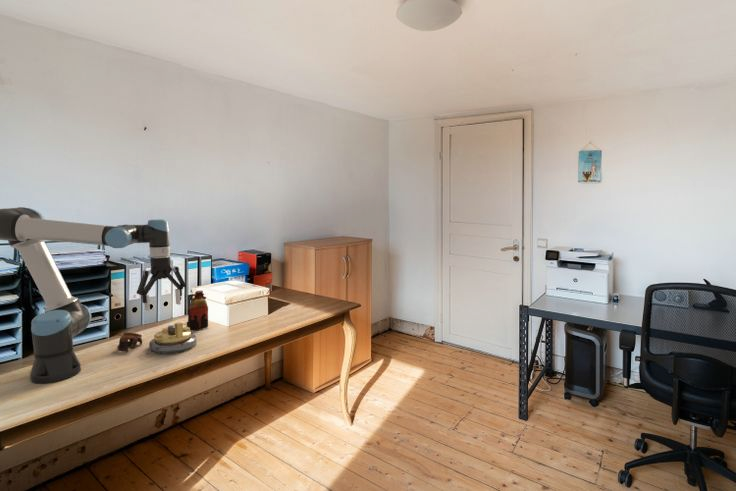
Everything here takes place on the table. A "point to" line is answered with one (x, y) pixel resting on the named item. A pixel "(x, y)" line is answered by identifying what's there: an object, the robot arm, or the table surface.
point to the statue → (198, 312)
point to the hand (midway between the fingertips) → (163, 307)
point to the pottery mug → (131, 344)
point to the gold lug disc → (173, 335)
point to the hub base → (172, 348)
